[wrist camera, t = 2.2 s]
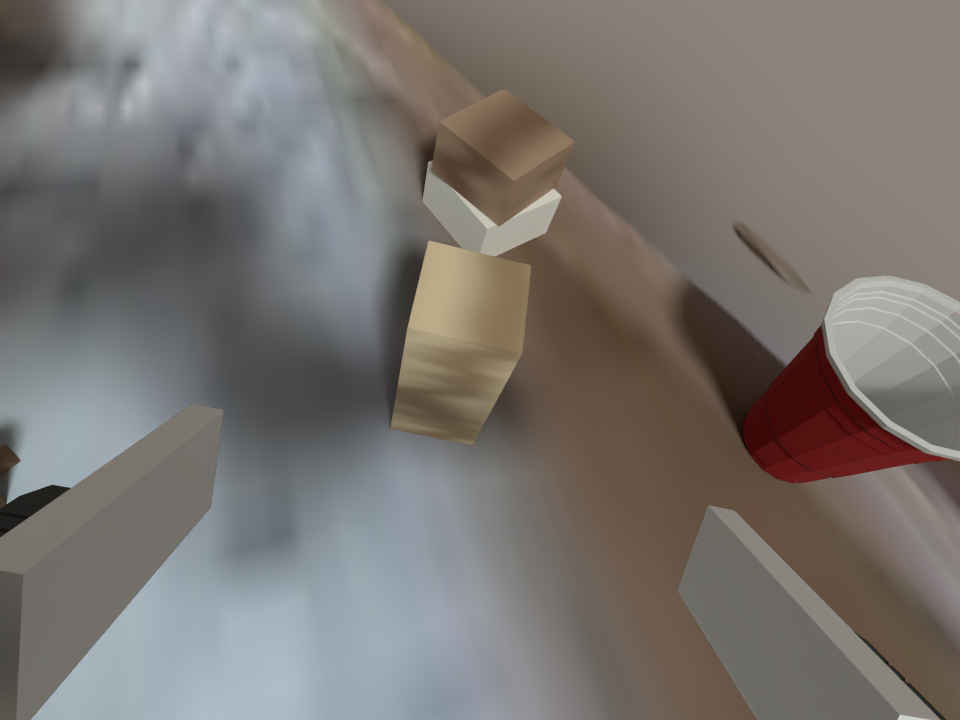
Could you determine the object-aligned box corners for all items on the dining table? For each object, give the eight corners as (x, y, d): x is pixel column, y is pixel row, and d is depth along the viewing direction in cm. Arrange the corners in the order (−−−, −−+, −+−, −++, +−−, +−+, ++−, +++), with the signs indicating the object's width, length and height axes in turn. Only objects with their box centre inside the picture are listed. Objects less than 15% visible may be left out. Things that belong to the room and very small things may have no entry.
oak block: (390, 428, 32) (407, 327, 23) (406, 357, 35) (428, 240, 26) (472, 445, 33) (522, 353, 23) (483, 373, 35) (531, 265, 26)
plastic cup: (689, 365, 39) (809, 257, 29) (820, 380, 41) (976, 283, 31) (723, 518, 34) (884, 450, 24) (872, 527, 36) (1081, 467, 26)
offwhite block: (422, 203, 42) (428, 161, 39) (492, 176, 45) (503, 136, 42) (475, 266, 40) (487, 228, 37) (545, 234, 43) (561, 196, 40)
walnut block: (431, 170, 38) (439, 121, 35) (491, 136, 41) (504, 88, 38) (499, 226, 37) (514, 180, 34) (555, 187, 40) (574, 141, 37)
